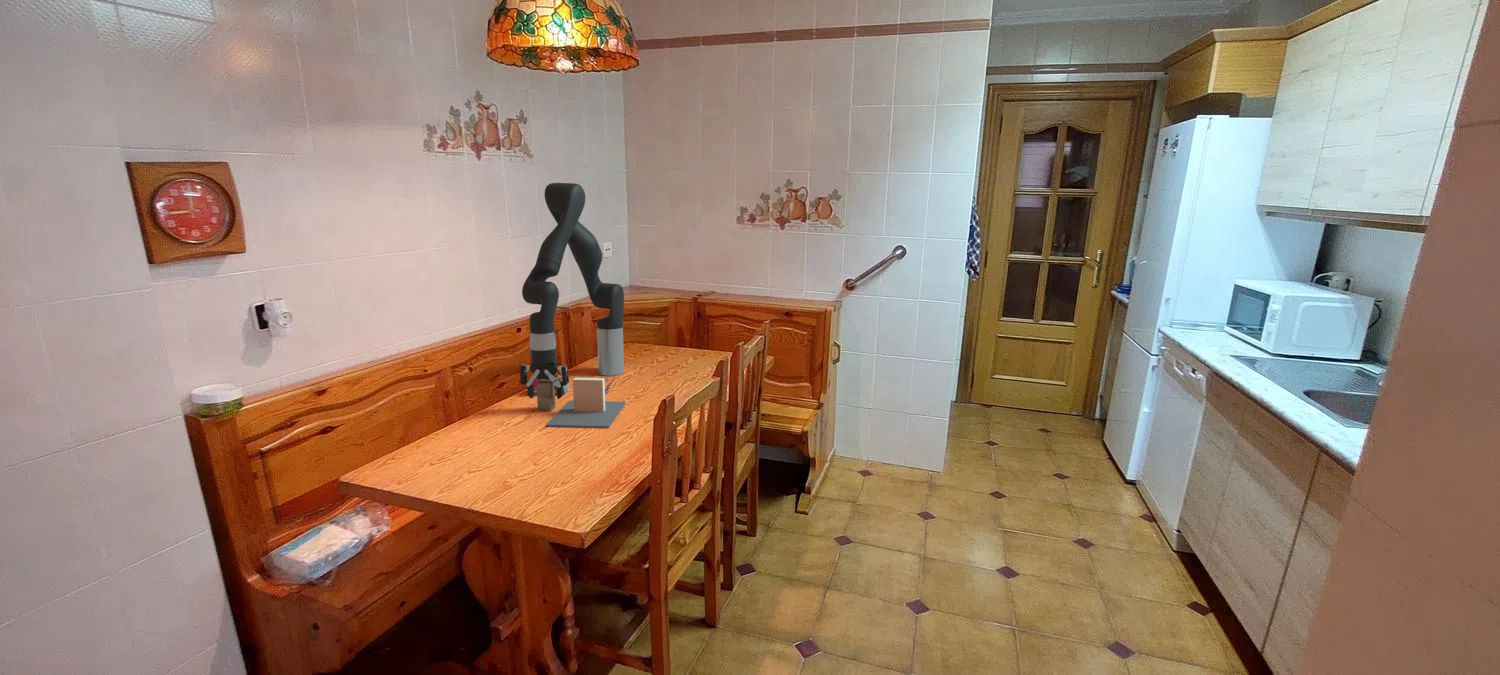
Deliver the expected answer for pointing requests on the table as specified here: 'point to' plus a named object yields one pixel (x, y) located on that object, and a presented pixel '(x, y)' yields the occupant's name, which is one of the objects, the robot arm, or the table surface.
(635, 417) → the table surface
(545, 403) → the block
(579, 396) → the tile
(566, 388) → the beverage can
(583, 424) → the mat
